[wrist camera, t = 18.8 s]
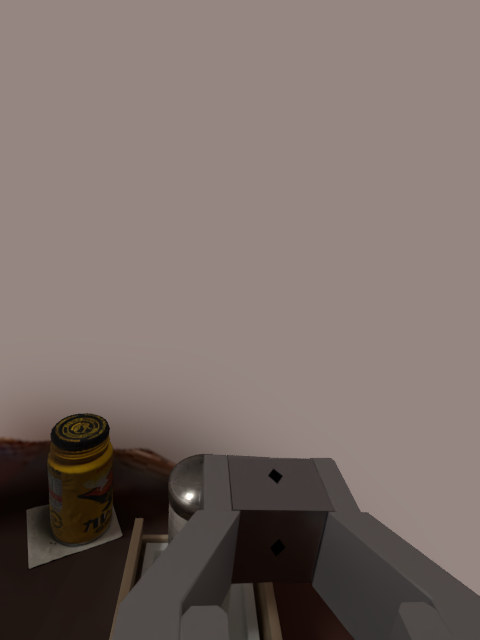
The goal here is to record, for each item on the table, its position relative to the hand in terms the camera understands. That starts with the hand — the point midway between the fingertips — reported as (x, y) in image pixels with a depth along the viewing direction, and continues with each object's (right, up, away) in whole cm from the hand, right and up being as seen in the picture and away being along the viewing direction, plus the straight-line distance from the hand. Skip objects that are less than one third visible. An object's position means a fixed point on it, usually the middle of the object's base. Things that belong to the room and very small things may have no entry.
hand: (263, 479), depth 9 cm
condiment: (-18, -18, +31) cm, 40 cm away
